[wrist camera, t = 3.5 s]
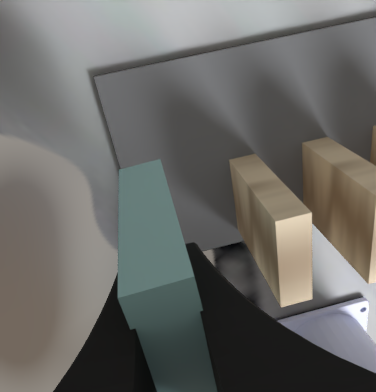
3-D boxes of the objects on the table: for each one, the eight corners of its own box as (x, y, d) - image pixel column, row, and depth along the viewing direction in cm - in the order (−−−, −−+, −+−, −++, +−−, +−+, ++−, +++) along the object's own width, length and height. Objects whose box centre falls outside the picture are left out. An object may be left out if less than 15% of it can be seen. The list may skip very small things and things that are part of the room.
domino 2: (261, 223, 24) (312, 299, 17) (238, 229, 23) (281, 307, 17) (255, 153, 21) (311, 212, 15) (229, 159, 21) (275, 221, 15)
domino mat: (452, 184, 25) (457, 187, 25) (147, 261, 24) (148, 264, 23) (493, -9, 20) (499, -9, 19) (94, 75, 18) (93, 77, 18)
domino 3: (326, 207, 24) (398, 276, 18) (303, 213, 24) (368, 284, 18) (327, 136, 21) (411, 187, 15) (302, 142, 21) (376, 196, 15)
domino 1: (187, 262, 16) (231, 418, 10) (152, 272, 16) (173, 436, 10) (160, 158, 14) (194, 276, 7) (118, 169, 13) (117, 298, 7)
